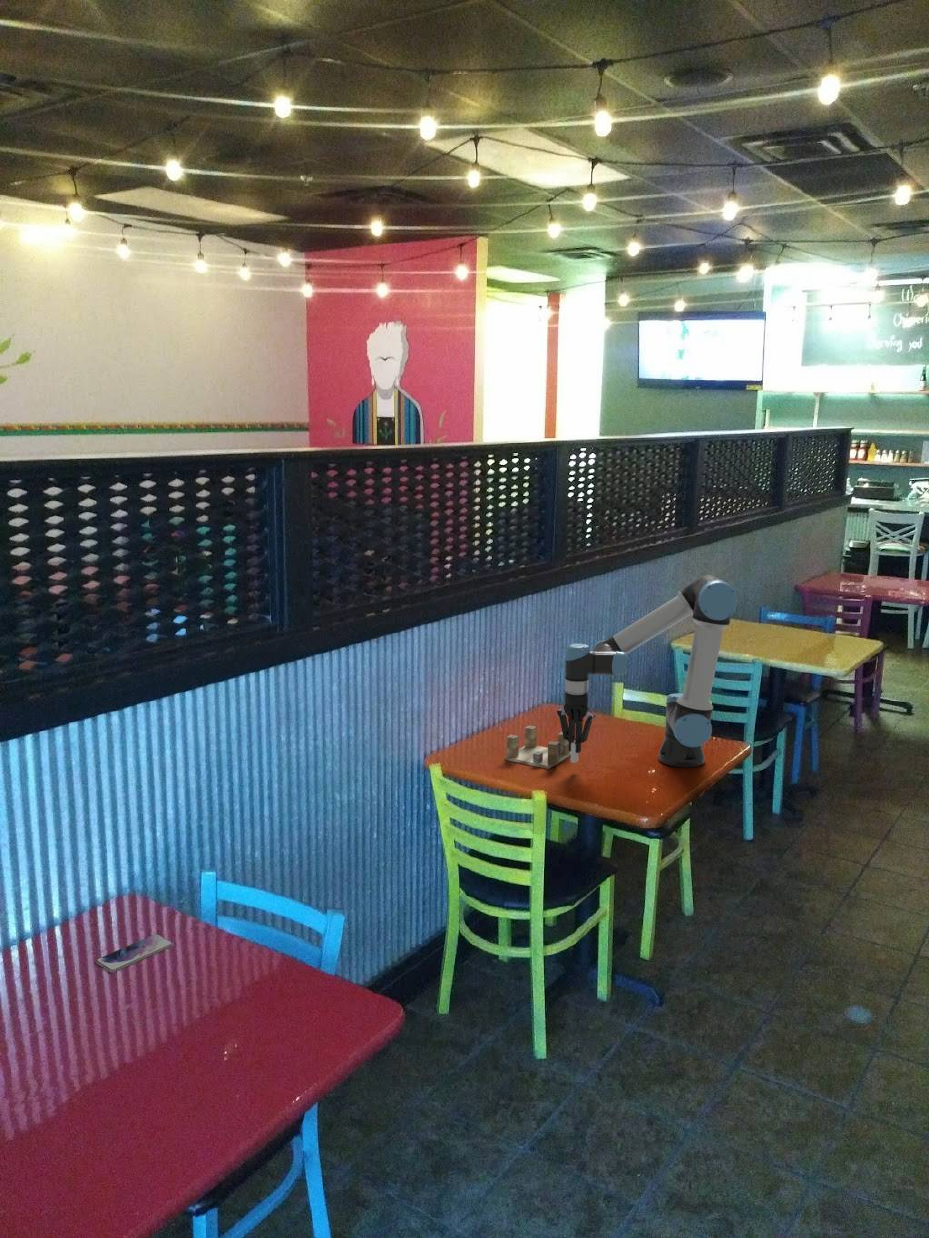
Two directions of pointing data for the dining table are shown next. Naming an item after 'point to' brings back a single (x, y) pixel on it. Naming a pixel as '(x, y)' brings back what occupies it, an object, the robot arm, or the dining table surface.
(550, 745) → the hinged leg
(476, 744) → the dining table surface
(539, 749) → the stool seat
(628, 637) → the robot arm
